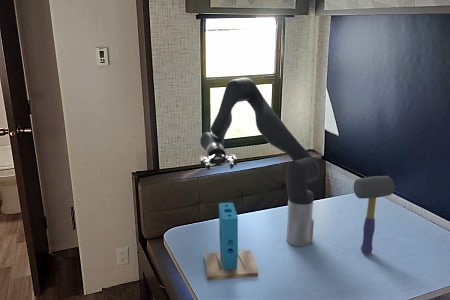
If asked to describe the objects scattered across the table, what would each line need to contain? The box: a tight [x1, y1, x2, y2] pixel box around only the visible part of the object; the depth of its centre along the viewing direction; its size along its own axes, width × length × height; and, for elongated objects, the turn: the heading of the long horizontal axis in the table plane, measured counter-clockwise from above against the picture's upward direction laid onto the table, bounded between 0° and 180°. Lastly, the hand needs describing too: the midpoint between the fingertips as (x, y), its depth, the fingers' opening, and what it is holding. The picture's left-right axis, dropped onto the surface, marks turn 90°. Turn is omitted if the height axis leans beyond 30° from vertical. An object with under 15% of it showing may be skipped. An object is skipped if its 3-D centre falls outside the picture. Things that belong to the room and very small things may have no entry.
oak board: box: [203, 249, 259, 281], centre depth 151 cm, size 17×14×2 cm
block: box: [218, 202, 239, 270], centre depth 148 cm, size 12×5×20 cm, turn 7°
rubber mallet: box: [353, 175, 395, 256], centre depth 155 cm, size 12×8×30 cm, turn 103°
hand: (220, 167), depth 165 cm, fingers open, 8 cm apart
